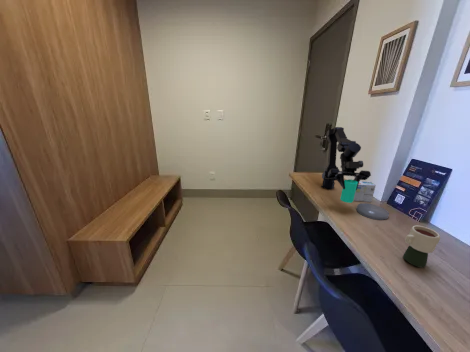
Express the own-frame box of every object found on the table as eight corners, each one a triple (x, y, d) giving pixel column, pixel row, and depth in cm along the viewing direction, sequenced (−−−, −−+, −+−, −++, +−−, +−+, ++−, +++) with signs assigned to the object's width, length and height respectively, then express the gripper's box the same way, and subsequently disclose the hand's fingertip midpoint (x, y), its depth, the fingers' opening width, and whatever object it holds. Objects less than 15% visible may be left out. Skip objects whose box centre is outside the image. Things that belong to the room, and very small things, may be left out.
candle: (351, 198, 105) (357, 177, 101) (354, 203, 100) (360, 181, 96) (339, 196, 107) (343, 175, 103) (341, 201, 102) (346, 179, 98)
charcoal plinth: (351, 210, 107) (352, 207, 106) (364, 204, 114) (364, 201, 114) (380, 222, 96) (381, 219, 95) (392, 215, 103) (393, 211, 103)
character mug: (420, 255, 75) (432, 225, 71) (438, 270, 68) (452, 238, 64) (391, 254, 75) (401, 224, 71) (405, 269, 69) (417, 237, 64)
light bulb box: (366, 197, 123) (370, 181, 120) (371, 202, 117) (376, 185, 113) (347, 196, 124) (351, 180, 121) (352, 201, 118) (356, 184, 114)
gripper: (333, 153, 101) (335, 181, 94) (374, 155, 98) (379, 184, 91) (326, 163, 111) (328, 190, 104) (363, 166, 108) (367, 193, 101)
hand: (350, 189), depth 100 cm, fingers closed on candle, 5 cm apart
